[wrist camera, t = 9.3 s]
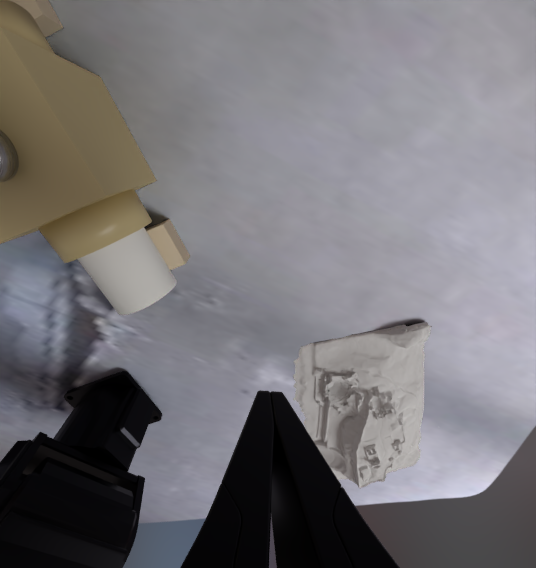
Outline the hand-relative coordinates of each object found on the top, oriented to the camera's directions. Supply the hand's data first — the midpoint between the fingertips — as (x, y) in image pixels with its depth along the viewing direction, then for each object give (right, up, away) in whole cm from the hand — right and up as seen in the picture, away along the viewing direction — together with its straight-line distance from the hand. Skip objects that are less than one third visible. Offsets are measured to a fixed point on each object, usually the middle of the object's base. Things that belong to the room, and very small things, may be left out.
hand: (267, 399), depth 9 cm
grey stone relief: (+10, -10, +21) cm, 25 cm away
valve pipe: (-11, +12, +8) cm, 18 cm away
